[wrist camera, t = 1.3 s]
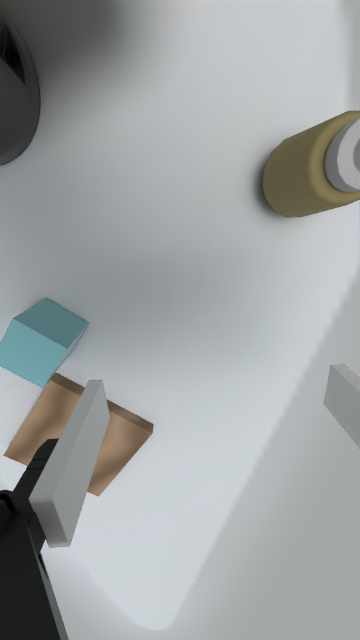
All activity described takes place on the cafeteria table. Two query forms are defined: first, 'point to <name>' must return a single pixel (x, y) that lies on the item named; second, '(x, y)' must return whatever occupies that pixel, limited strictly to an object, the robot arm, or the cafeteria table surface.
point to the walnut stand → (55, 413)
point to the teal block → (40, 341)
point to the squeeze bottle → (316, 168)
